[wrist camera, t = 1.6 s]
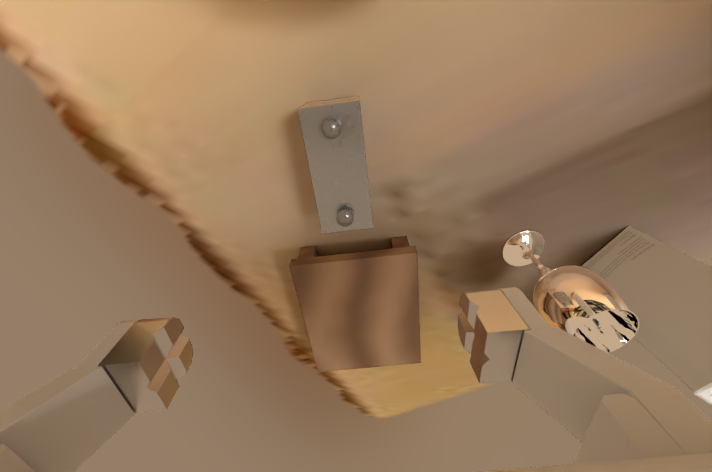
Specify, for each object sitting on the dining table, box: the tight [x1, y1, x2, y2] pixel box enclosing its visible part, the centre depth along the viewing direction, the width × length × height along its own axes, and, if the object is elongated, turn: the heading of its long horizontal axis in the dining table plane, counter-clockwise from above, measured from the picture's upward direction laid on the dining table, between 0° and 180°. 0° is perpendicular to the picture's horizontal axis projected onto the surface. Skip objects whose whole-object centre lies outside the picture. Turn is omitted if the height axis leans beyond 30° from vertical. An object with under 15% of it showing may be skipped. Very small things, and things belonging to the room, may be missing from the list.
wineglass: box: [502, 230, 639, 353], centre depth 27 cm, size 6×6×12 cm
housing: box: [298, 96, 373, 234], centre depth 26 cm, size 4×10×6 cm, turn 7°
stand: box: [290, 236, 421, 372], centre depth 34 cm, size 12×15×4 cm
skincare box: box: [582, 226, 712, 405], centre depth 27 cm, size 8×6×15 cm
